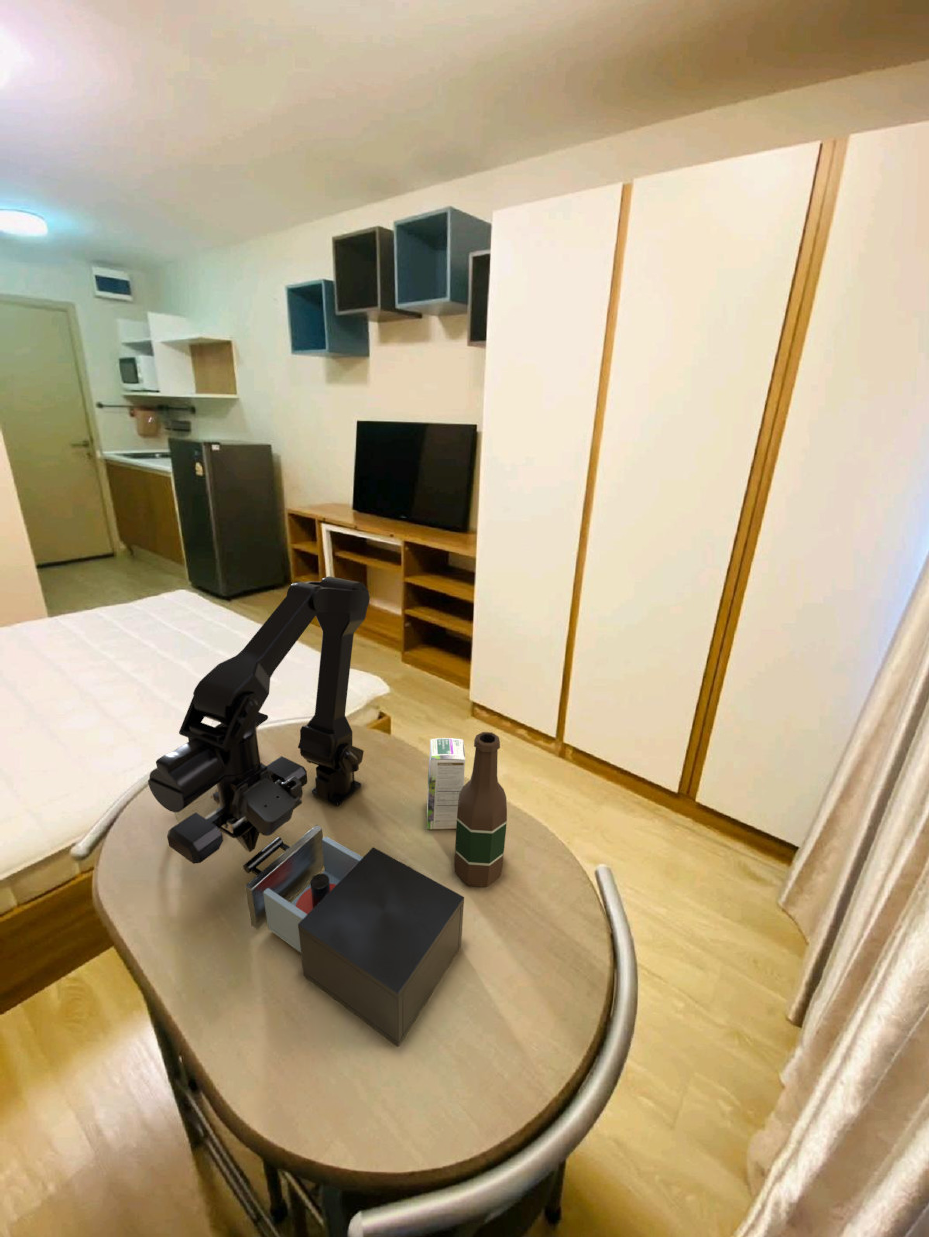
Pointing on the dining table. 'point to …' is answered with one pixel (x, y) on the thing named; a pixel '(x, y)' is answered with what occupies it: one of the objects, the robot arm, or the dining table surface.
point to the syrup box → (445, 782)
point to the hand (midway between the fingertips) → (250, 849)
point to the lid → (314, 893)
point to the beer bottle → (481, 818)
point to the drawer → (292, 880)
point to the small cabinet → (382, 941)
